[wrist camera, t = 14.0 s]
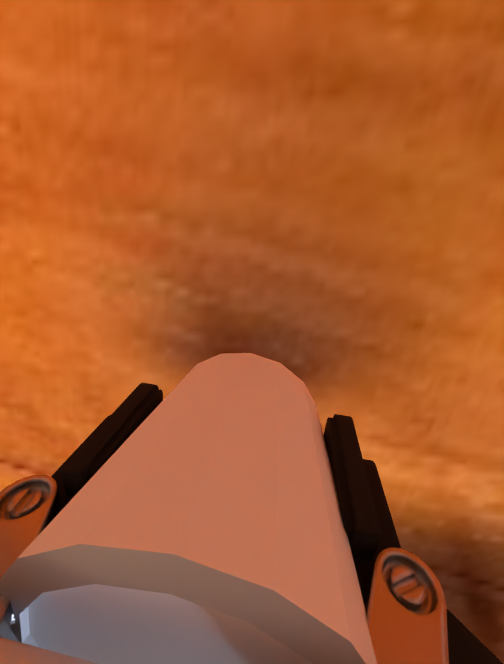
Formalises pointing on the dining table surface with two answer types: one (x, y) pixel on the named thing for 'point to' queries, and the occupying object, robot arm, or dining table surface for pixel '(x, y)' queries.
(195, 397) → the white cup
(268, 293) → the dining table surface
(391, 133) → the dining table surface
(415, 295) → the dining table surface
